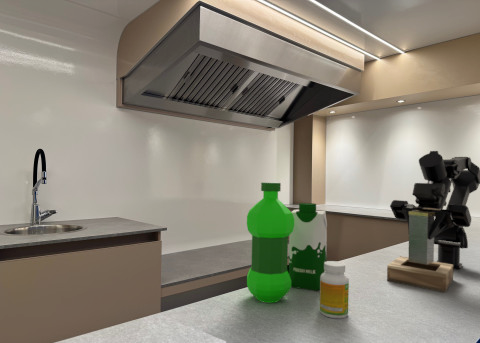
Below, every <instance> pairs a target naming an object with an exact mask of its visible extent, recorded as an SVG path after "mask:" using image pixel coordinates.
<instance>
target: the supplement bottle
mask: <svg viewBox="0 0 480 343" xmlns="http://www.w3.org/2000/svg"><path fill="white" fill-rule="evenodd" d="M324 270H325V272H324V273H322V274H321V276H320V291H319V313H320V314H322V315H323V316H324V317H327V318H329V319H330V318H331V319H344V318H346V317H348V315H349V295H350V294H349V290H350V289H349V287H350V285H349V284H350V282H349V281H350V279H349V277H348V275H347V274H345V273H346V263H344V262H341V261H336V260H326V262H324Z"/></svg>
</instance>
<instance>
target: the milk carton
mask: <svg viewBox="0 0 480 343" xmlns="http://www.w3.org/2000/svg"><path fill="white" fill-rule="evenodd" d="M291 212H292V214H293V217H294V228H293V232H292V233H291V234H290V235H289V236H288V238H289V239H288V273H289V275H290V278H291V288H294V289H295V288H296V289H302V290H309V291H310V290H312V291H317V292H318V291H319V292H320V276H321V274H322V273H324V272H325V270H324V262H326V261H327V243H328V242H327V240H328V235H327V234H328V231H327V230H328V229H327V227H328V222H327V216H326V215H327V214H326V213H327V212H326V210H317V204H316V203H313V202H311V203H310V202H301V203H300V202H299V204H298V209H293V210H292V211H291Z"/></svg>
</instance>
